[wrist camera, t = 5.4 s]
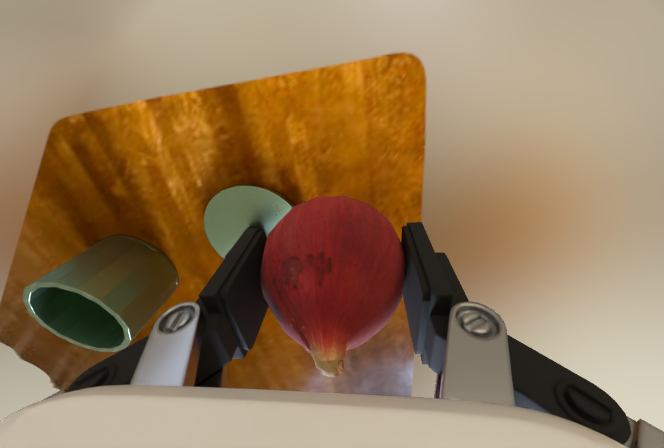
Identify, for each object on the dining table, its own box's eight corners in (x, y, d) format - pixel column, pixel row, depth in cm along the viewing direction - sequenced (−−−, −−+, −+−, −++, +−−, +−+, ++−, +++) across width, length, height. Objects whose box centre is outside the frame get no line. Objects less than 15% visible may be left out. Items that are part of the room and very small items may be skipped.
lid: (192, 185, 33) (153, 209, 27) (300, 179, 31) (284, 204, 25) (225, 269, 40) (201, 304, 34) (314, 269, 38) (305, 306, 32)
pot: (80, 235, 39) (-3, 282, 30) (157, 234, 38) (93, 282, 29) (123, 297, 46) (66, 349, 37) (190, 297, 44) (147, 353, 35)
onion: (278, 247, 15) (212, 395, 8) (297, 155, 12) (215, 266, 5) (371, 272, 15) (382, 434, 8) (411, 189, 12) (480, 335, 5)
